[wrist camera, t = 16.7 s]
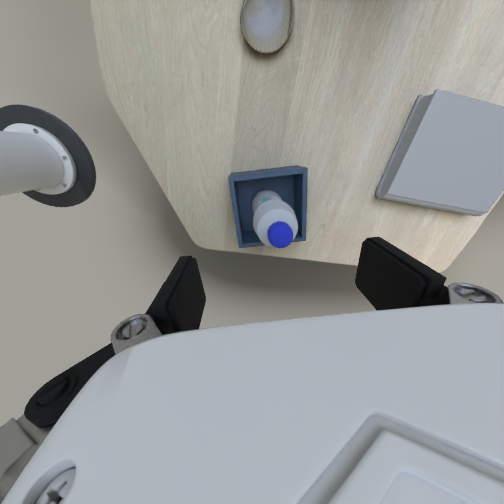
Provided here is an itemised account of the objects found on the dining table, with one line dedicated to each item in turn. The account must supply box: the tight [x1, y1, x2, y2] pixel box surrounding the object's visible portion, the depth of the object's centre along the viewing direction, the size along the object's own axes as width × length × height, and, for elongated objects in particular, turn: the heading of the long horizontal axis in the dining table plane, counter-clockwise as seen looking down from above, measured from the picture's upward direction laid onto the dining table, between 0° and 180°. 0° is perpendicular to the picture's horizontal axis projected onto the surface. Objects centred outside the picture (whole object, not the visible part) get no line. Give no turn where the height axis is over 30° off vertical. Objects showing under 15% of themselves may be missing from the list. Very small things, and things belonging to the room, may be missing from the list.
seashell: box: [240, 0, 295, 54], centre depth 29 cm, size 8×3×8 cm
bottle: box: [252, 189, 298, 248], centre depth 33 cm, size 7×7×20 cm
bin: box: [228, 165, 308, 248], centre depth 39 cm, size 14×14×8 cm
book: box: [376, 89, 504, 216], centre depth 39 cm, size 18×4×24 cm
